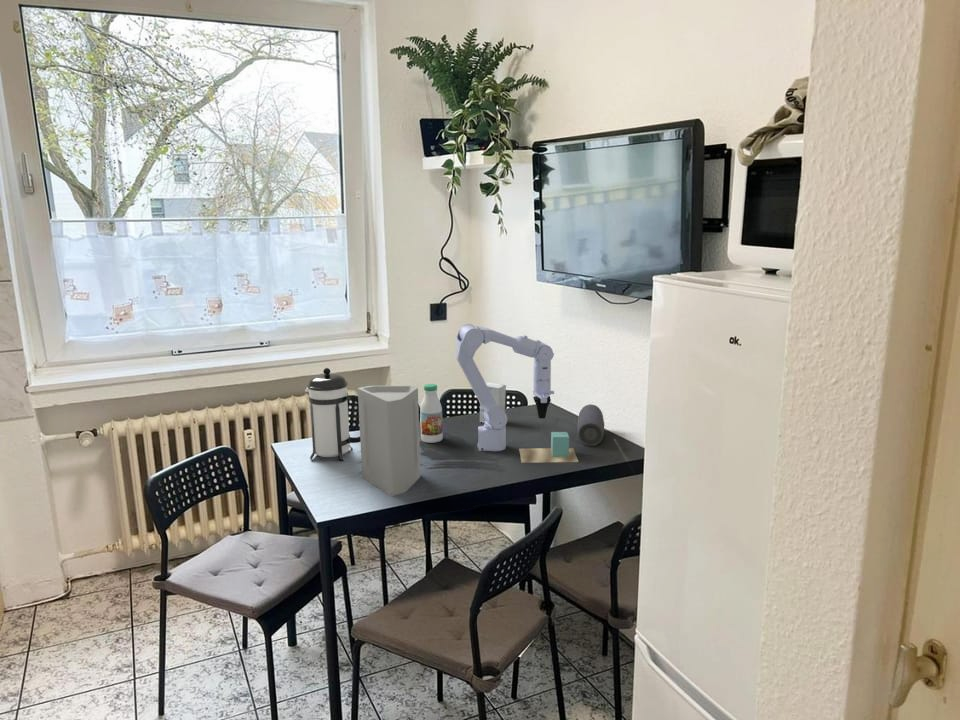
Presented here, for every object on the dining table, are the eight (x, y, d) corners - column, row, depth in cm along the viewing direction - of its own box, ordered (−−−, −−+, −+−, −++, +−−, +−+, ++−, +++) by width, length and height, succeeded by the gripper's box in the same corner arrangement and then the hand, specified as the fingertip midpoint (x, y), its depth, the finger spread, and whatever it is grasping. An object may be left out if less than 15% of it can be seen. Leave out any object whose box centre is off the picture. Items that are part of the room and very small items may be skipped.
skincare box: (479, 422, 267) (479, 384, 264) (486, 418, 273) (486, 381, 269) (499, 425, 264) (499, 387, 260) (506, 421, 269) (506, 383, 266)
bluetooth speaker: (604, 450, 236) (605, 421, 234) (576, 449, 237) (577, 421, 235) (603, 429, 258) (604, 403, 256) (577, 428, 259) (578, 402, 257)
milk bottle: (416, 439, 249) (414, 385, 245) (433, 434, 254) (432, 381, 250) (429, 444, 243) (428, 389, 239) (447, 439, 248) (446, 385, 244)
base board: (521, 467, 222) (521, 462, 221) (519, 452, 234) (519, 448, 234) (578, 466, 222) (578, 461, 221) (572, 452, 234) (573, 448, 234)
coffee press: (319, 468, 223) (313, 376, 216) (302, 454, 236) (296, 366, 229) (370, 457, 232) (365, 368, 226) (350, 444, 245) (346, 360, 239)
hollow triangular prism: (435, 483, 209) (433, 393, 203) (391, 496, 201) (387, 401, 195) (403, 465, 224) (400, 380, 218) (361, 476, 216) (356, 388, 210)
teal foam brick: (552, 456, 226) (552, 437, 225) (551, 451, 231) (551, 432, 230) (568, 456, 226) (569, 437, 225) (566, 451, 231) (567, 431, 230)
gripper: (556, 384, 228) (555, 424, 230) (551, 373, 242) (551, 411, 245) (534, 384, 228) (534, 424, 230) (531, 373, 242) (531, 411, 245)
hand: (541, 417), depth 238 cm, fingers closed
